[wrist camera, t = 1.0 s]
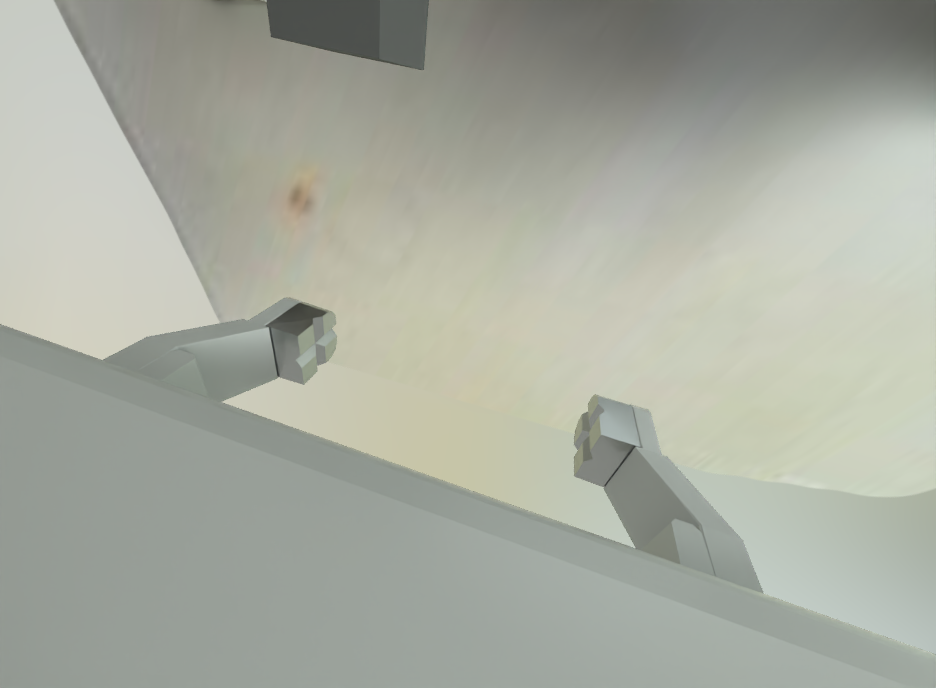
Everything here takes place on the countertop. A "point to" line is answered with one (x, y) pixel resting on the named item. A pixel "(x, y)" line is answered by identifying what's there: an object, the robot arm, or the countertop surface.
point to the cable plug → (355, 27)
